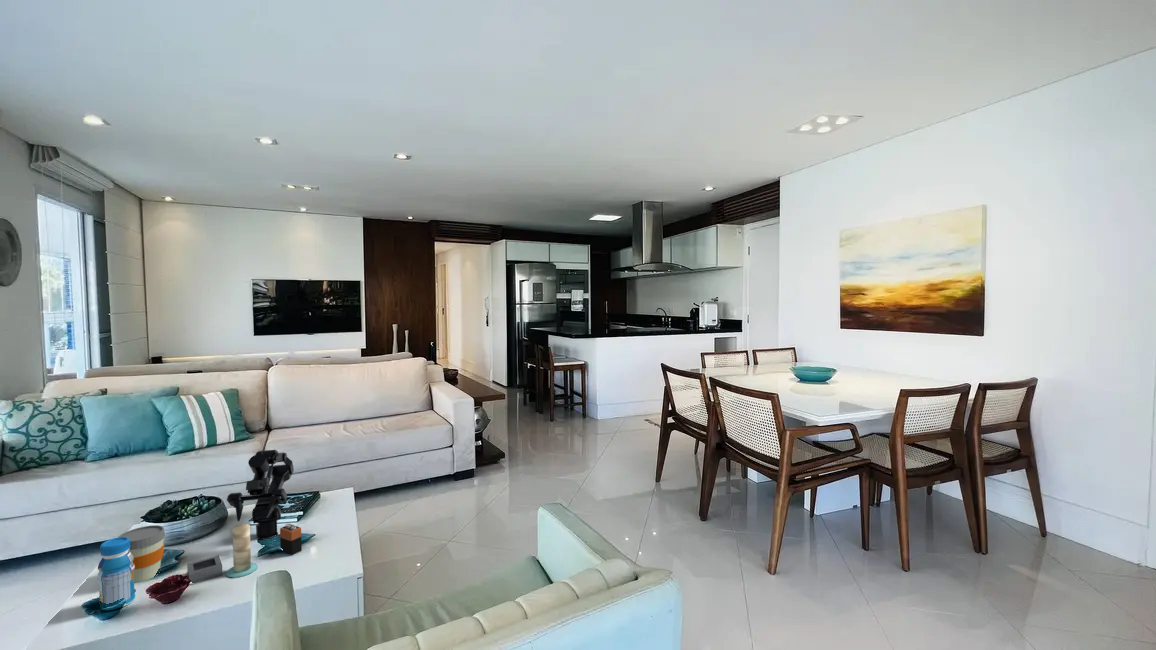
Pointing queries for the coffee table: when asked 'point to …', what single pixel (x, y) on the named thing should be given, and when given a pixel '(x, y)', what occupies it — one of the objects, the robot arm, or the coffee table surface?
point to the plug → (241, 548)
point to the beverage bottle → (116, 571)
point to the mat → (232, 574)
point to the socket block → (204, 569)
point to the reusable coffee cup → (146, 550)
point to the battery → (290, 539)
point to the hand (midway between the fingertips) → (252, 519)
